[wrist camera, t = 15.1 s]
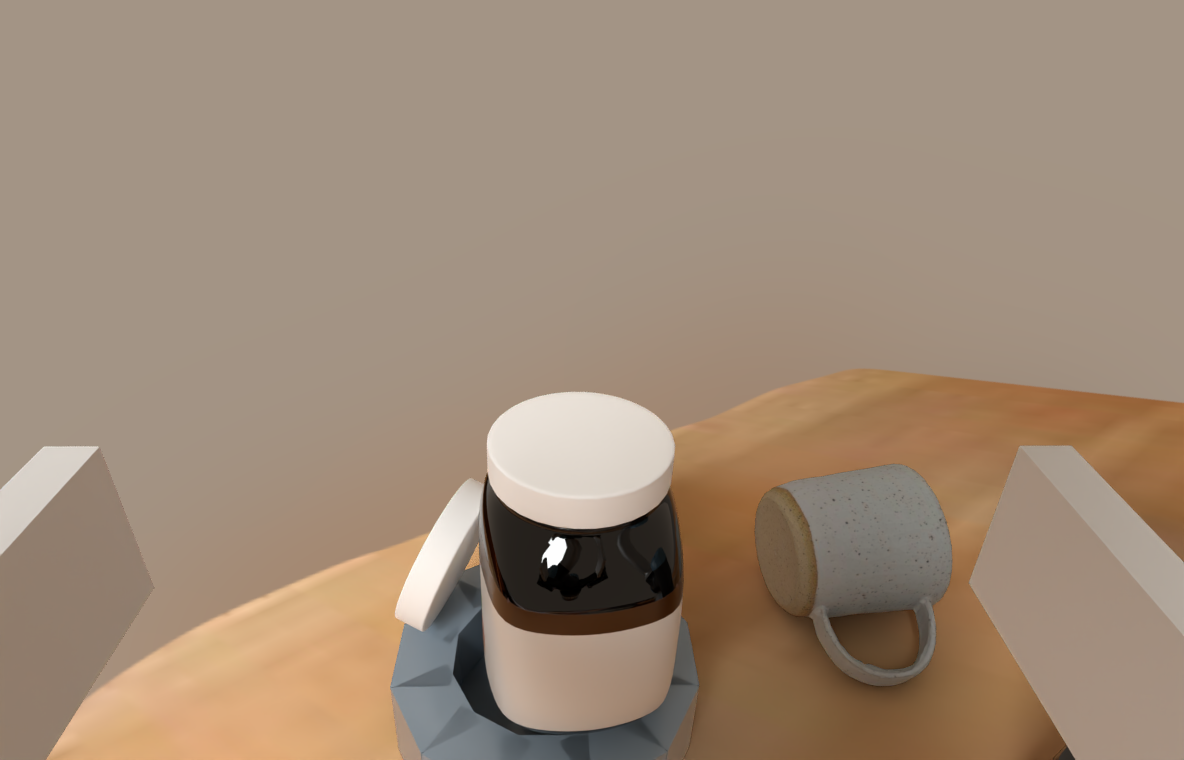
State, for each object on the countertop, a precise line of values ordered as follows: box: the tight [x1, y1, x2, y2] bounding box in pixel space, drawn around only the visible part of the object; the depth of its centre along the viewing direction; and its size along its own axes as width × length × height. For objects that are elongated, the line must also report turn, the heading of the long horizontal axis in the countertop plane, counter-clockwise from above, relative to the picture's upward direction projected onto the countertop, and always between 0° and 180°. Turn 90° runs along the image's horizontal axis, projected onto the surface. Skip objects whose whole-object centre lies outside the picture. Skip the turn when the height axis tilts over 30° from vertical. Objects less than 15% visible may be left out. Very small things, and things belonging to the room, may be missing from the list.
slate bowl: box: [390, 565, 699, 760], centre depth 35 cm, size 13×13×4 cm
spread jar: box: [395, 392, 684, 734], centre depth 31 cm, size 12×11×12 cm
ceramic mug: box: [755, 464, 952, 686], centre depth 40 cm, size 11×8×8 cm
